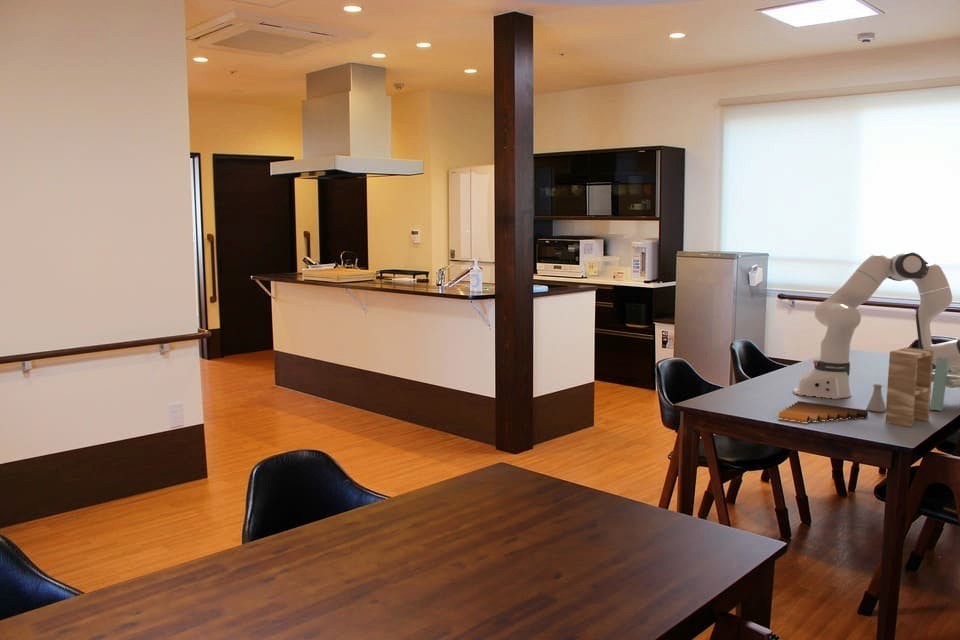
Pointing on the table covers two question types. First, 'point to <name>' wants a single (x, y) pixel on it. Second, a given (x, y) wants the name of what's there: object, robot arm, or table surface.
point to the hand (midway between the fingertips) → (938, 380)
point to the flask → (876, 400)
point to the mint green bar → (939, 384)
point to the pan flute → (819, 412)
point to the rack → (909, 386)
